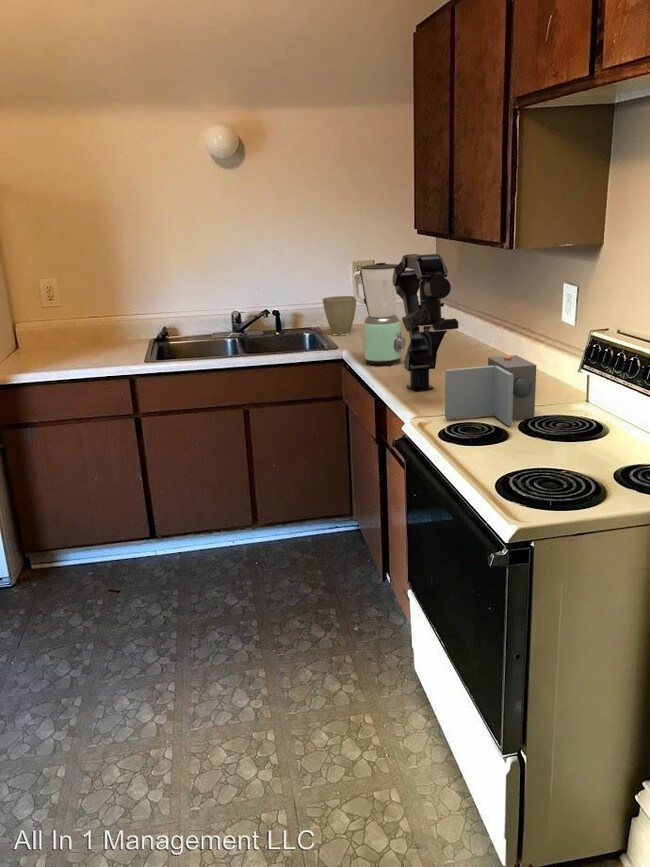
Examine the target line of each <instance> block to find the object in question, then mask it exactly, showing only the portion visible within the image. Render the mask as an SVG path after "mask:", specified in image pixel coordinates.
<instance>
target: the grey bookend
mask: <svg viewBox="0 0 650 867" xmlns="http://www.w3.org/2000/svg"><path fill="white" fill-rule="evenodd" d="M513 377H514V375H513V374H512V373H510V372H508V371H506V370H505V369H503V368H501V367H499V366H498V365H493V366H488V365H484V366H483V365H482V366H473V367H471V366H470V367H461V368H449V369H444V418H445V419H446V420H454V419H455V420H456V419H464V418H465V419H466V418H475V417H486V416H495V417H496V418H497V419H498V420H499V421H501V422H502V423H504V424H505V425H506V426H512V425H513V420H512V411H513Z"/></svg>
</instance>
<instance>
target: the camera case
mask: <svg viewBox="0 0 650 867" xmlns="http://www.w3.org/2000/svg"><path fill="white" fill-rule="evenodd" d="M493 365H498V366H499V367H501V368H503V369H505V370H506V371H508V372H510V373H512V374H513V375H514V377H513V411H512V421H515V420H525V419H534V418H535V415H536V414H535V412H536V411H535V410H536V408H535V407H536V388H537V387H536V384H537V364H535V363H533V362H531V361H529V360H527V359H525V358H522V357H520V356H519V355H517V354H514V355H501V356H491V357H489V356H488V358H487V366H493Z"/></svg>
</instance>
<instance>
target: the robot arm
mask: <svg viewBox="0 0 650 867" xmlns="http://www.w3.org/2000/svg"><path fill="white" fill-rule="evenodd" d="M406 269H407V270H406ZM408 269H409V270H408ZM448 271H449V270H448V268H447V266H446V263H445V261H444V259H443V257H442V256H441V255H440V253H432V254H418V253H413V254H412V253H411V254H404V255H403V256H402V257H401V261H400V262H399V263H398V264H397V266H396V267H395V269H394V273H393V286H395V289H396V293H397V296H399V297H400V298H401V300H402V302H403V309H404V312H405V315H404V316H403V317H401V321H402V323H403V326H404V329H405V330H406V332H408V334H409V340H410V342H409V345H408V347H407V349H406V354H405V357H404V360H403V365H404V366H403V367H404V369H405V371H407V372H409V374H410V375H409V379H410V384H407V385H406V388H407V389H409V390H411V391H413V392H421V391H426V390H429V391H430V390H434V387H433V386H432V385H430V370H435V369H436V366H437V365H436V363H437V357H438V353H437V352H438V350H439V348H440V345H441V343H442V341H443V339H444V337H445V335H446V333H447V332H448V330H456V329H457V330H458V329H460V328H459V325H460V324H459V320H458V319H457V318H445V317H442V308H443V307H445V303H444V302H442V300H441V299H444V298H446V297H447V296H448V295H449V294H450V293H451V290H452V289H451V288H452V287H451V283H450V281H449V279H447V277H448ZM418 292H419V296H418Z"/></svg>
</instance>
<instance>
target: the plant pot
mask: <svg viewBox="0 0 650 867" xmlns="http://www.w3.org/2000/svg"><path fill="white" fill-rule="evenodd" d="M322 303H323V309H324V313H325V318H326V320H327V324H328V326H329V329H330V331H331V334H332V335H333V334H337V335H341V334H347V333H350V334H351V330H352V327H353V323H354V319H355V315H356V308H357V301H356V299H355V298H354V295H352V296H351V295H338V296H337V295H336V296H328V297H323V298H322Z"/></svg>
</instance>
